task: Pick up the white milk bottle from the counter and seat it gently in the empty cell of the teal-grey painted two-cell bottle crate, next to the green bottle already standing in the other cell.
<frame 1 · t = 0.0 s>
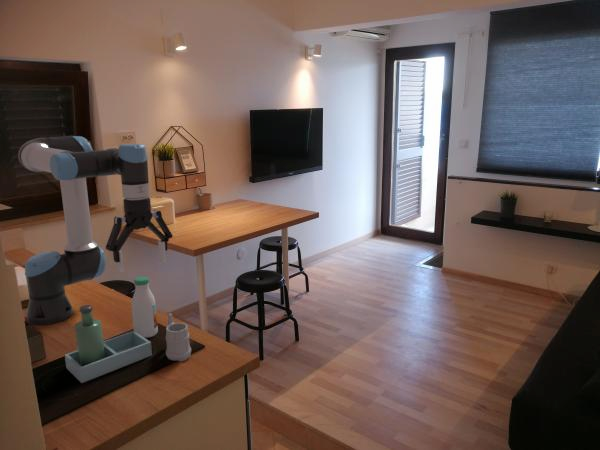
hand: (142, 266, 145), 28 cm above the counter, fingers open, 13 cm apart
mug: (176, 354, 150), on the counter
milk bottle: (146, 334, 163), on the counter
crate: (110, 363, 144), on the counter
green bottle: (93, 368, 140), point 1 cm above the counter, touching crate
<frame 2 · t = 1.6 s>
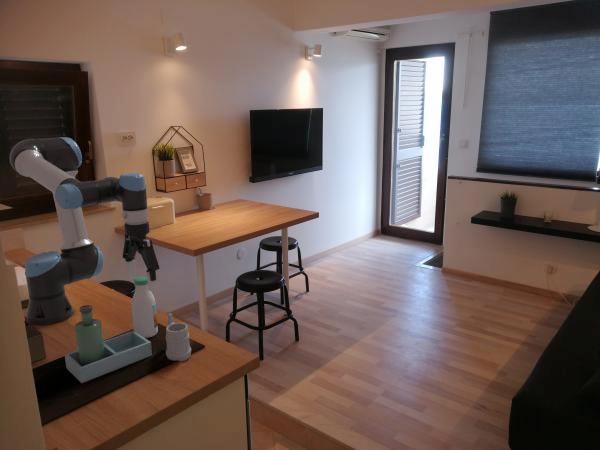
hand: (142, 284, 158), 18 cm above the counter, fingers open, 13 cm apart
nothing on the counter moved.
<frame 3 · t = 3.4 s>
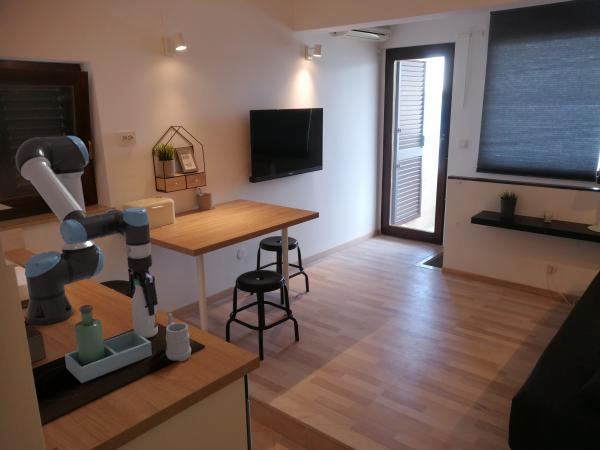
hand: (145, 319, 161), 5 cm above the counter, fingers closed on milk bottle, 7 cm apart
milk bottle: (146, 334, 163), on the counter, touching gripper
everything else where it was.
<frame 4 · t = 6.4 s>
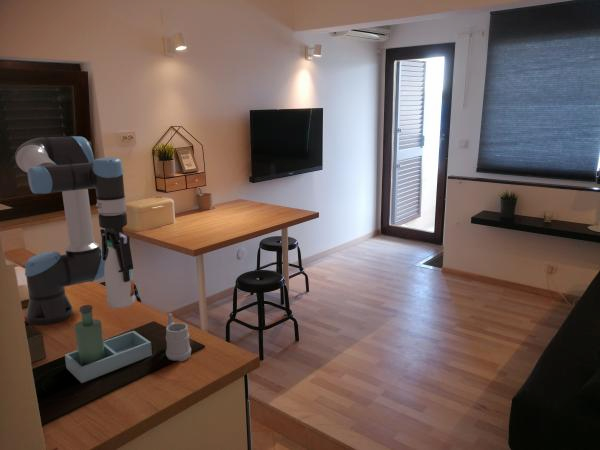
hand: (119, 287, 142), 23 cm above the counter, fingers closed on milk bottle, 7 cm apart
milk bottle: (121, 304, 143), point 18 cm above the counter, touching gripper
everything else where it was.
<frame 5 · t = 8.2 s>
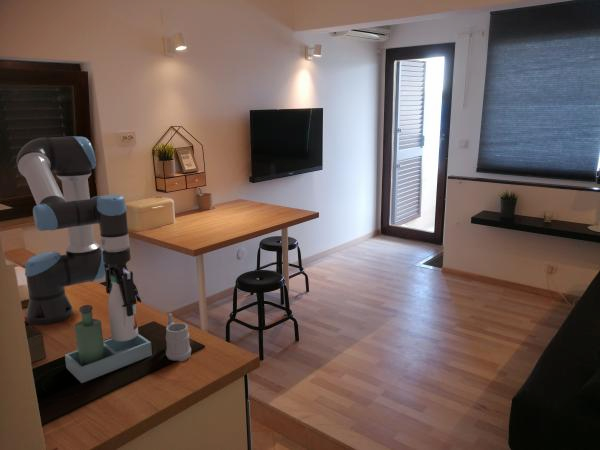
hand: (123, 320, 145), 12 cm above the counter, fingers closed on milk bottle, 7 cm apart
milk bottle: (125, 336, 146), point 7 cm above the counter, touching gripper
everything else where it was.
when the fingers open (8 cm above the counter, at t = 9.6 s): milk bottle drops 2 cm, resting on crate.
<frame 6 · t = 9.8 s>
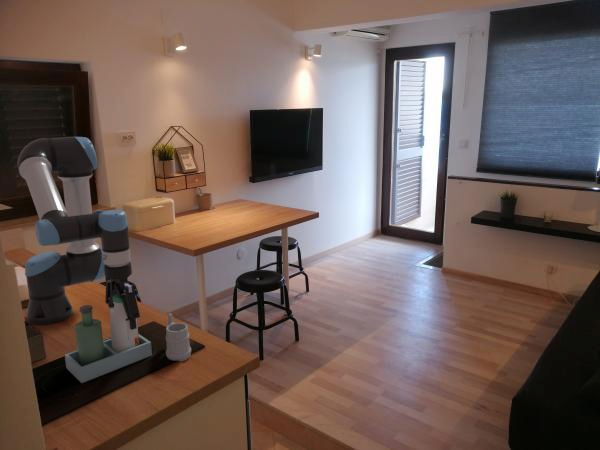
hand: (124, 332, 146), 8 cm above the counter, fingers open, 10 cm apart
milk bottle: (126, 355, 148), resting on crate
everything else where it was.
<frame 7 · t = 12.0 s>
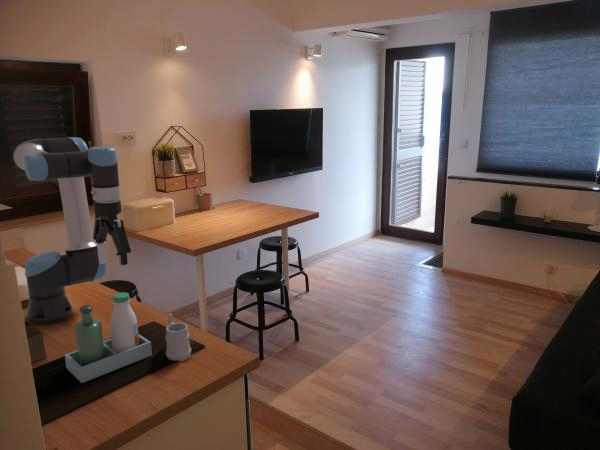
hand: (113, 268, 145), 27 cm above the counter, fingers open, 13 cm apart
nothing on the counter moved.
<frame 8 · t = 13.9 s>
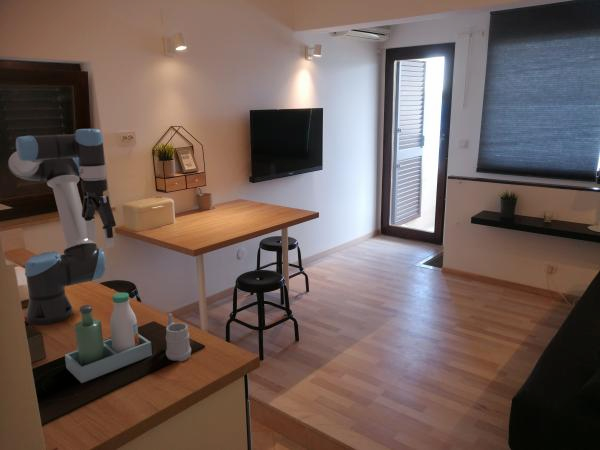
hand: (100, 243, 156), 32 cm above the counter, fingers open, 13 cm apart
nothing on the counter moved.
at the end: milk bottle inside the target area on the crate (0.1 cm from its centre), point 0.4 cm above the crate's base; milk bottle tilted 0°; the gripper is holding nothing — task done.
